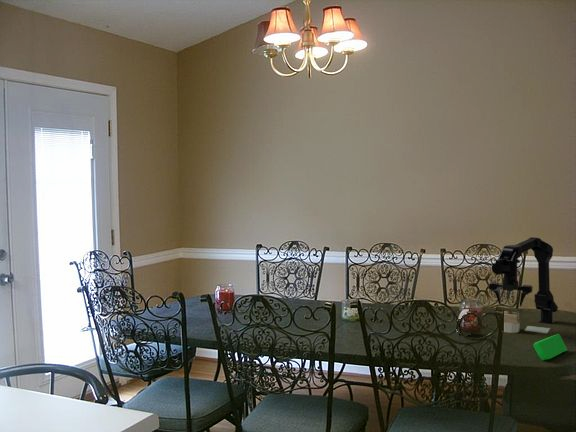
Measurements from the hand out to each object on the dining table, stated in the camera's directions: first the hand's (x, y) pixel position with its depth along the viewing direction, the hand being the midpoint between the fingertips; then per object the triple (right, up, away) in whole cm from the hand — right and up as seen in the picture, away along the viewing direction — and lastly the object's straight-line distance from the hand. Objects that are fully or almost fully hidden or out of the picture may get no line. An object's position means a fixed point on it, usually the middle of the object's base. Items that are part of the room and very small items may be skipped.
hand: (510, 305), depth 270 cm
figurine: (-23, -13, -4) cm, 26 cm away
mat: (+14, -12, +2) cm, 18 cm away
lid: (0, -8, 0) cm, 8 cm away
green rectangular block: (0, -15, -34) cm, 38 cm away
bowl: (0, -12, +1) cm, 12 cm away
